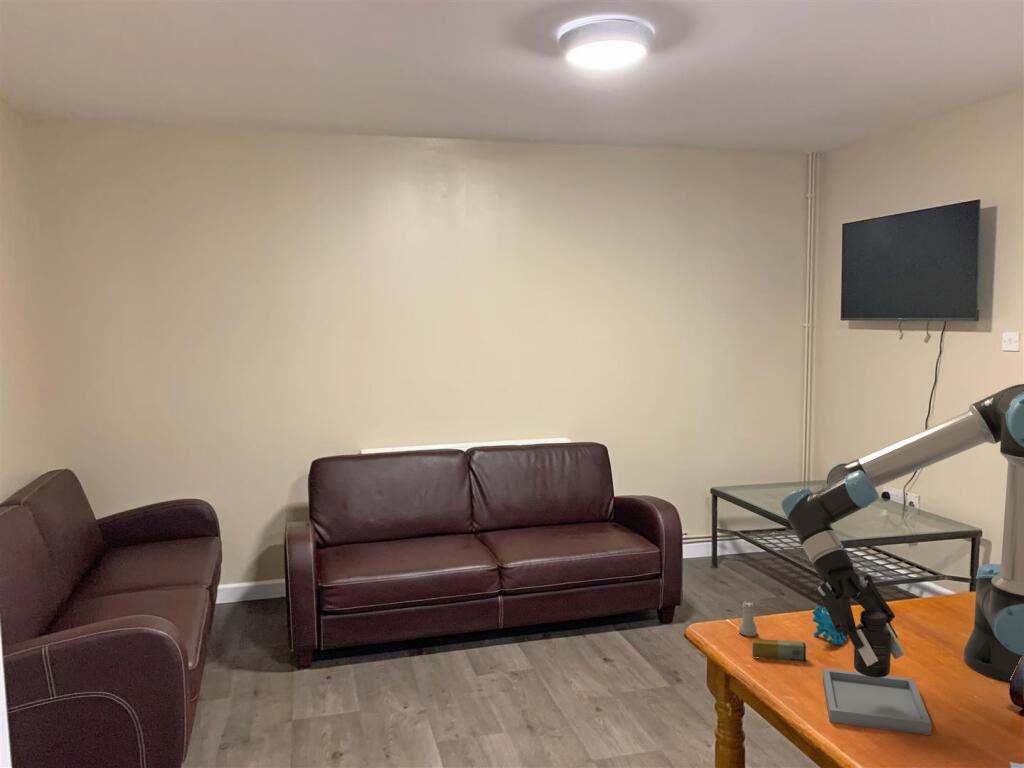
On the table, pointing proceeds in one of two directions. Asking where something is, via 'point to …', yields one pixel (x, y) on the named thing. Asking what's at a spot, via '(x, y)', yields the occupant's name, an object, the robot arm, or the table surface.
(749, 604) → the rook chess piece
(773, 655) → the medication box
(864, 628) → the supplement bottle
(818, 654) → the table surface
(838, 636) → the blue bumpy irregular piece
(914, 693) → the tray
